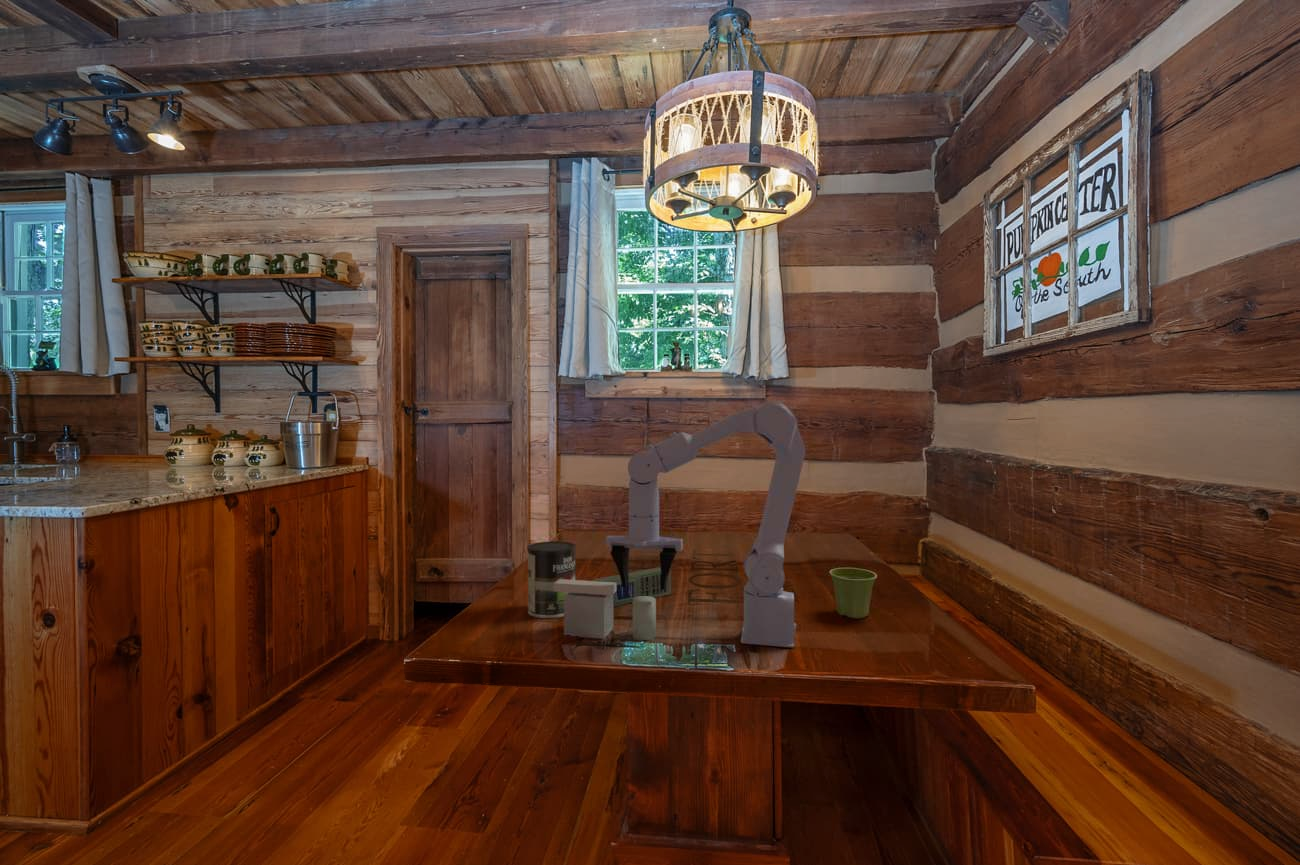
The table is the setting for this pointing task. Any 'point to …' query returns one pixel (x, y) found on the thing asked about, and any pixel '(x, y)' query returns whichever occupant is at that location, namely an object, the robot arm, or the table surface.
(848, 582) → the plant pot
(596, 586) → the pale grey rectangular box
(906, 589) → the table surface
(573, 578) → the coffee can
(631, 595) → the handheld radio
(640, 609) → the plug
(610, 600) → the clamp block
